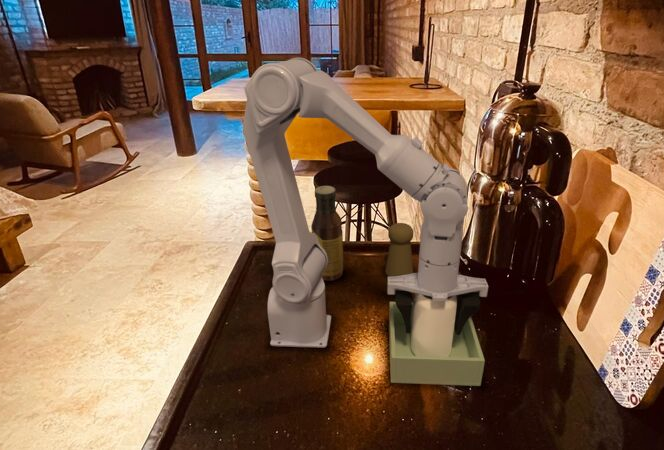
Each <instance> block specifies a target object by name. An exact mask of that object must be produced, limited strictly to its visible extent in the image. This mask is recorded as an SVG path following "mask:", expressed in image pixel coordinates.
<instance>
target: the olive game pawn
mask: <svg viewBox="0 0 664 450" xmlns="http://www.w3.org/2000/svg"><path fill="white" fill-rule="evenodd" d="M387 236H388V239H389V240H390V241H389V248H388V254H387V259H386V265H385V269H384V273H385V275H387V277H395V276H402V275H408V274H413V273H414V265H413V253H412V244H411V243H412V242H411V241H412V240H413V238H414V229H413V227H412V226H411V225H410V224H407V223H405V222H395V223H393V224H391V226H389V227H388V231H387Z"/></svg>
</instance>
